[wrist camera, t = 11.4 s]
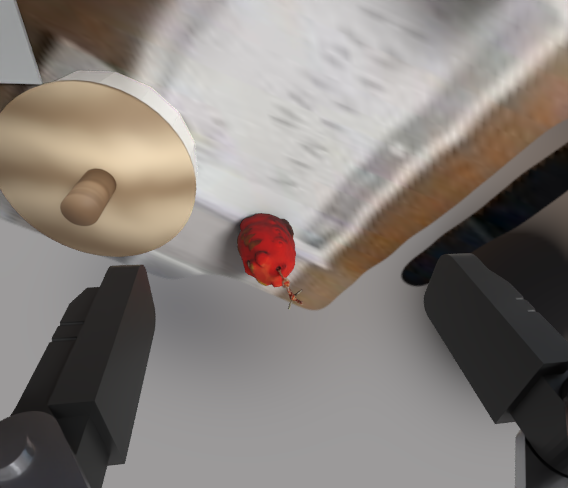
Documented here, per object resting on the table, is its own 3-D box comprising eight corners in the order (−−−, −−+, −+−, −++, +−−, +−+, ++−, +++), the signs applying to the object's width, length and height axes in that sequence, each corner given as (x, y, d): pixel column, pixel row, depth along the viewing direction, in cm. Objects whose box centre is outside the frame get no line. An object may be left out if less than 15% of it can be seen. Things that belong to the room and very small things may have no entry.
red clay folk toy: (225, 223, 43) (224, 311, 31) (273, 195, 42) (291, 276, 29) (258, 262, 47) (268, 353, 35) (302, 238, 46) (328, 323, 34)
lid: (-45, 76, 26) (-108, 94, 21) (185, 82, 28) (176, 99, 23) (37, 255, 36) (7, 295, 31) (203, 249, 38) (199, 285, 33)
